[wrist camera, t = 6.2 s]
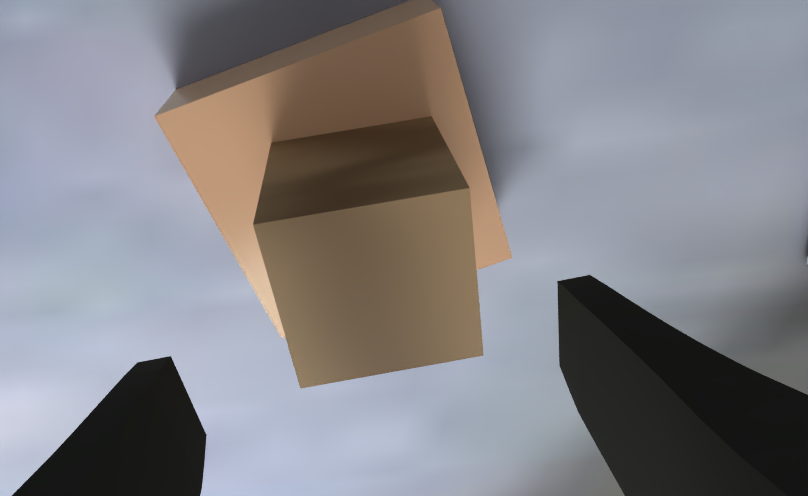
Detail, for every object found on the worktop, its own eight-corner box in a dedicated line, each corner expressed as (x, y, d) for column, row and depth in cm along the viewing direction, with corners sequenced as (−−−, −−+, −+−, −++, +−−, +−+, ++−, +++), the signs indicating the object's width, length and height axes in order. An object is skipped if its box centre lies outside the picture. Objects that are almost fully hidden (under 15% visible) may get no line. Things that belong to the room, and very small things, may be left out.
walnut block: (431, 116, 17) (469, 188, 12) (446, 254, 19) (483, 355, 15) (271, 142, 17) (253, 224, 12) (305, 278, 19) (300, 388, 14)
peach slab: (423, -7, 18) (440, 8, 15) (489, 216, 22) (512, 257, 19) (177, 87, 18) (154, 116, 16) (286, 288, 22) (281, 337, 20)
